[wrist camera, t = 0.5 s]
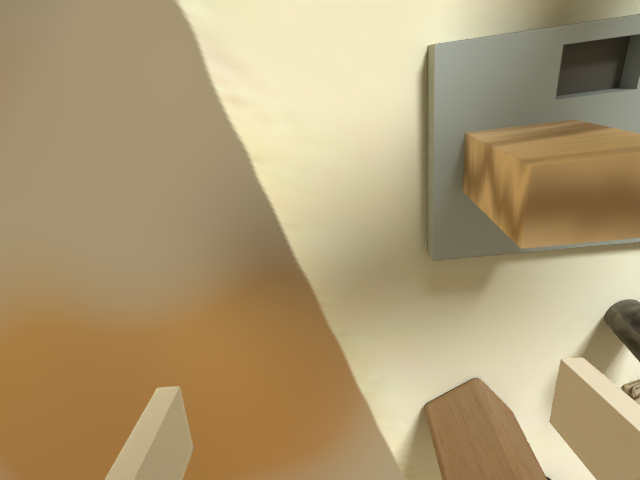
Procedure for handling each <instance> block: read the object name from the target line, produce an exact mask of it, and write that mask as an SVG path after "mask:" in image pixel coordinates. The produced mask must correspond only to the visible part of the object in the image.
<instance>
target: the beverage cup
mask: <svg viewBox="0 0 640 480" xmlns="http://www.w3.org/2000/svg"><path fill="white" fill-rule="evenodd" d="M605 321H606V322H607V324H608V325H609V326H610V327H611V329H612V330H613V331H614V333H615V334H616V335H617V336H618V338H619V339H620V340H621V341H622V342H623V343H624V344H625V346H626V347H627V348H628V349H629V350H630V351H631V352H632V354H633V355H634V356H635V357H636V358H637V359H638V360H639V362H640V302H638V301H636V300H623V301H620V302H618V303H616V304H614V305H613V306H611V307H610V308H609V310H608V311H607V312H606V315H605Z"/></svg>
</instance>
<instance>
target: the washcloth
mask: <svg viewBox="0 0 640 480" xmlns="http://www.w3.org/2000/svg"><path fill="white" fill-rule="evenodd" d="M624 392H625V393H626V394H627V395H628V396H629V397H631V398H632V399H633V400H634V401H635V402H636V403H638V404H639V405H640V380H637V381H633V382H630V383H628V384H626V385H625V386H624Z"/></svg>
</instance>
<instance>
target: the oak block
mask: <svg viewBox="0 0 640 480" xmlns="http://www.w3.org/2000/svg"><path fill="white" fill-rule="evenodd" d="M463 192H464V193H465V194H466V195H467V196H468V197H469V198H470V199H471V200H472V201H473V202H474V203H475V204H476V205H477V206H478V207H479V208H480V209H481V210H482V211H483V212H484V213H485V214H486V215H487V216H488V217H489V218H490V219H491V220H492V221H493V222H494V223H495V224H496V225H497V226H498V227H499V228H500V229H501V230H502V231H503V232H504V233H505V234H506V235H507V236H508V237H509V238H510V239H511V240H512V241H514V242H515V243H516V244H517V245H518V246H519V247H520V248H521V249H524V248H535V247H546V246H557V245H568V244H579V243H590V242H601V241H612V240H623V239H634V238H640V134H639V133H635V132H630V131H625V130H621V129H616V128H612V127H607V126H602V125H598V124H593V123H589V122H584V121H579V120H575V119H573V120H565V121H557V122H549V123H540V124H532V125H524V126H516V127H508V128H499V129H491V130H483V131H475V132H467V133H465V150H464V171H463Z"/></svg>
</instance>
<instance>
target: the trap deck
mask: <svg viewBox="0 0 640 480" xmlns="http://www.w3.org/2000/svg"><path fill="white" fill-rule="evenodd" d="M573 119H575V120H579V121H584V122H589V123H593V124H598V125H602V126H607V127H612V128H616V129H621V130H625V131H630V132H635V133H639V134H640V14H637V15H630V16H623V17H617V18H610V19H603V20H596V21H589V22H582V23H576V24H569V25H562V26H555V27H548V28H541V29H534V30H528V31H521V32H514V33H507V34H500V35H493V36H487V37H480V38H473V39H466V40H459V41H452V42H446V43H439V44H433V45H429V46H428V252H429V254H430V256H431V258H432V260H444V259H455V258H466V257H477V256H488V255H499V254H511V253H522V252H533V251H544V250H555V249H566V248H577V247H588V246H600V245H611V244H622V243H633V242H640V238H634V239H623V240H612V241H601V242H590V243H579V244H568V245H557V246H546V247H535V248H524V249H521V248H520V247H519V246H518V245H517V244H516V243H515V242H514V241H512V240H511V239H510V238H509V237H508V236H507V235H506V234H505V233H504V232H503V231H502V230H501V229H500V228H499V227H498V226H497V225H496V224H495V223H494V222H493V221H492V220H491V219H490V218H489V217H488V216H487V215H486V214H485V213H484V212H483V211H482V210H481V209H480V208H479V207H478V206H477V205H476V204H475V203H474V202H473V201H472V200H471V199H470V198H469V197H468V196H467V195H466V194H465V193H464V192H463V171H464V150H465V133H467V132H475V131H483V130H491V129H499V128H508V127H516V126H524V125H532V124H540V123H549V122H557V121H565V120H573Z"/></svg>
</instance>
